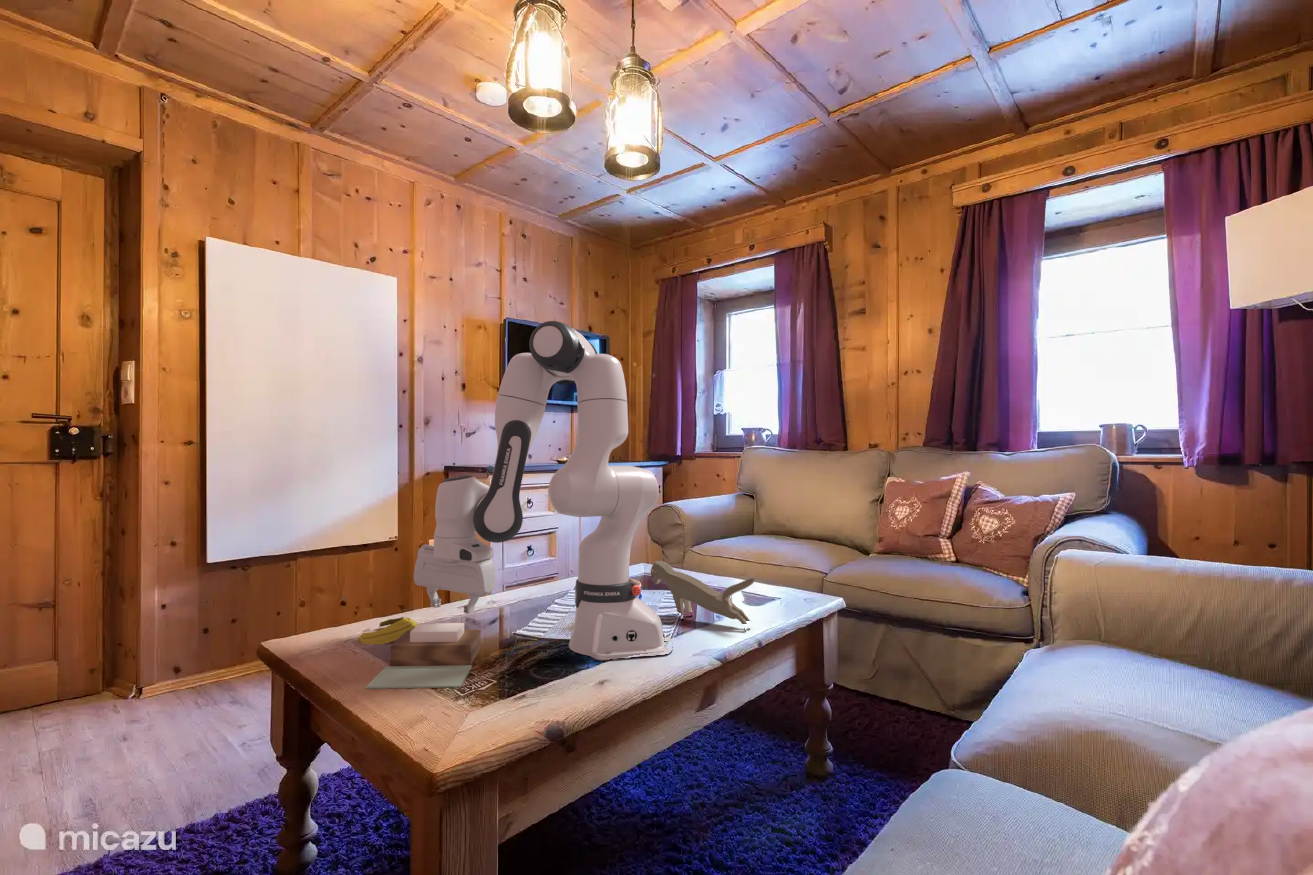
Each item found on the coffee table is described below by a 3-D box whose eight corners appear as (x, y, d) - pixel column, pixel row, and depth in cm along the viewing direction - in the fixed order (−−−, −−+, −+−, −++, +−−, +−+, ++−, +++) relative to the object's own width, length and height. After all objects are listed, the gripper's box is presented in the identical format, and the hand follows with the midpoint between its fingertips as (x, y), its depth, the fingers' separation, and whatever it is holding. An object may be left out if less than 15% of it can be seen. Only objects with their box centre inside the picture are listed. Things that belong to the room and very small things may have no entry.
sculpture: (744, 649, 146) (650, 588, 162) (771, 582, 143) (673, 527, 158) (732, 656, 141) (637, 592, 156) (760, 587, 137) (660, 529, 153)
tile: (464, 632, 122) (464, 622, 122) (457, 641, 116) (457, 631, 116) (419, 633, 121) (419, 623, 122) (409, 642, 116) (410, 631, 116)
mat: (472, 666, 114) (472, 665, 114) (460, 687, 104) (460, 685, 104) (385, 667, 113) (386, 666, 113) (365, 688, 103) (365, 686, 103)
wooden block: (480, 648, 125) (480, 629, 125) (470, 665, 115) (470, 644, 115) (406, 649, 123) (406, 630, 123) (389, 666, 113) (390, 645, 113)
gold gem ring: (427, 639, 132) (427, 619, 132) (364, 650, 124) (365, 629, 124) (409, 625, 142) (410, 607, 142) (350, 634, 134) (351, 615, 134)
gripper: (408, 545, 133) (405, 606, 133) (481, 555, 125) (479, 620, 125) (429, 541, 139) (426, 600, 139) (500, 550, 131) (497, 613, 131)
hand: (452, 610), depth 132 cm, fingers open, 8 cm apart
